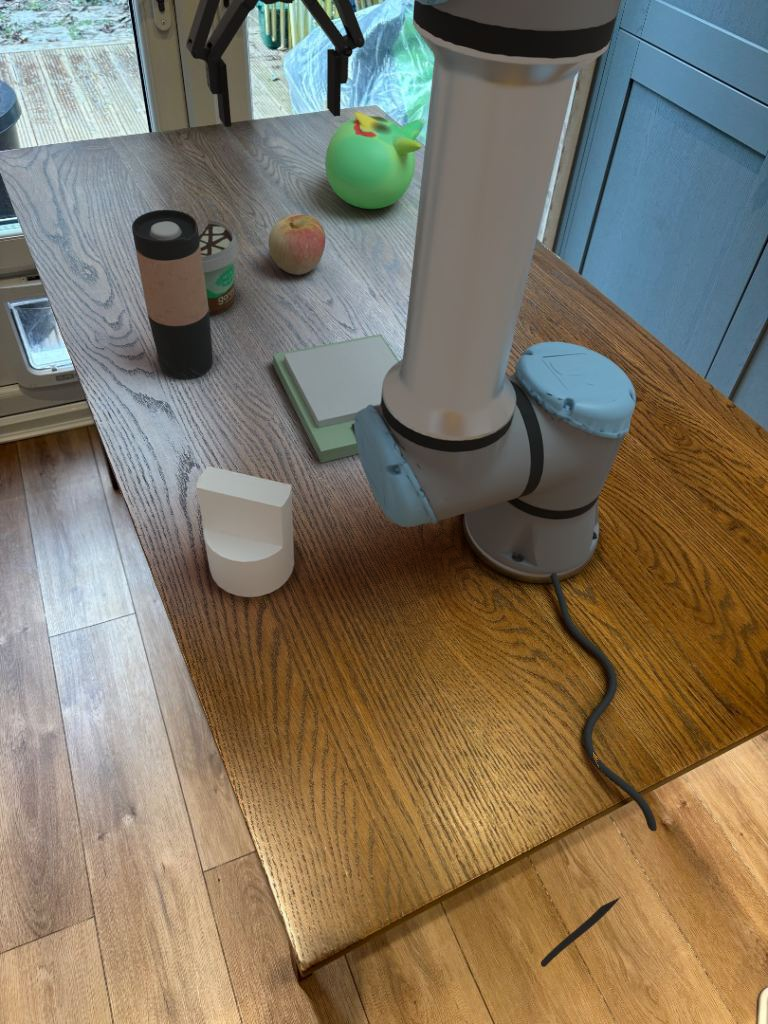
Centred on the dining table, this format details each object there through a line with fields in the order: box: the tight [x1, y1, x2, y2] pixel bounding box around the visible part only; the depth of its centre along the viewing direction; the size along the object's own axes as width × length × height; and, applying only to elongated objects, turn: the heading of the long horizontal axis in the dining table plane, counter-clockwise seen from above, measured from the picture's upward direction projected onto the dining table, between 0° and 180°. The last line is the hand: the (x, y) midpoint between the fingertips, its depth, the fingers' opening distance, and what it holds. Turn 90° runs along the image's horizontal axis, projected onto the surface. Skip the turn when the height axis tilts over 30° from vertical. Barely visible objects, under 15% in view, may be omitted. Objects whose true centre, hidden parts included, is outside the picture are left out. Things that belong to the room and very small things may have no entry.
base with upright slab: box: [196, 465, 295, 598], centre depth 76 cm, size 9×9×12 cm
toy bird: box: [324, 111, 425, 210], centre depth 131 cm, size 18×17×15 cm
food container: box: [199, 217, 240, 317], centre depth 109 cm, size 12×6×10 cm, turn 168°
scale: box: [272, 333, 400, 464], centre depth 99 cm, size 20×16×3 cm
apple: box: [268, 213, 326, 276], centre depth 117 cm, size 9×9×8 cm
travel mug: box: [131, 209, 214, 380], centre depth 95 cm, size 8×8×20 cm
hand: (280, 117), depth 91 cm, fingers open, 13 cm apart
